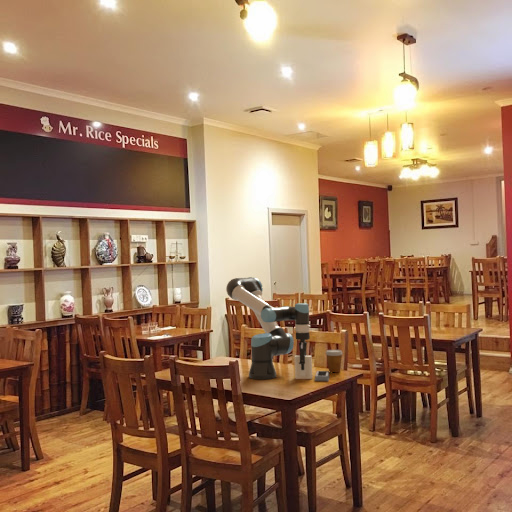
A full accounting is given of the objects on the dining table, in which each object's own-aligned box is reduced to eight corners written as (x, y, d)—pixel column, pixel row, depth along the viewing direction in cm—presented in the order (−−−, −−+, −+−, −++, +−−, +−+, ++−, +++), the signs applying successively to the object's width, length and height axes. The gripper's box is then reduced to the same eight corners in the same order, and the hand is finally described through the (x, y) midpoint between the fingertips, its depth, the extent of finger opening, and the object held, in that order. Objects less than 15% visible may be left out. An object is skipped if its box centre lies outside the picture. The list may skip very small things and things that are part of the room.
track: (314, 381, 289) (314, 376, 289) (316, 375, 303) (316, 370, 303) (328, 381, 288) (328, 376, 288) (329, 375, 302) (329, 370, 302)
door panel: (295, 378, 296) (294, 356, 297) (295, 377, 300) (295, 355, 300) (311, 379, 295) (311, 356, 295) (312, 377, 298) (311, 355, 298)
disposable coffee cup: (342, 370, 317) (342, 349, 317) (343, 373, 307) (342, 352, 307) (325, 370, 318) (325, 349, 318) (326, 373, 308) (325, 352, 308)
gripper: (308, 334, 288) (309, 378, 287) (310, 329, 307) (311, 371, 306) (293, 334, 289) (294, 378, 289) (297, 329, 308) (298, 371, 308)
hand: (303, 374), depth 297 cm, fingers open, 6 cm apart
